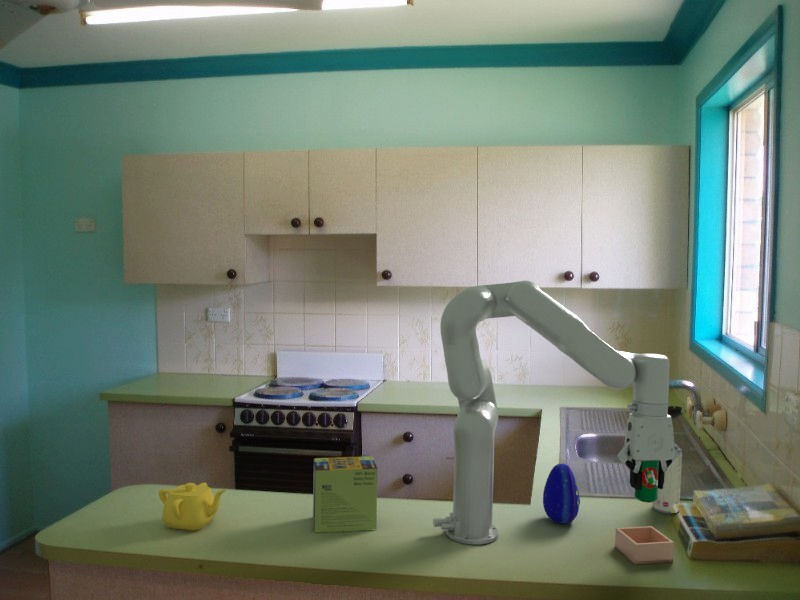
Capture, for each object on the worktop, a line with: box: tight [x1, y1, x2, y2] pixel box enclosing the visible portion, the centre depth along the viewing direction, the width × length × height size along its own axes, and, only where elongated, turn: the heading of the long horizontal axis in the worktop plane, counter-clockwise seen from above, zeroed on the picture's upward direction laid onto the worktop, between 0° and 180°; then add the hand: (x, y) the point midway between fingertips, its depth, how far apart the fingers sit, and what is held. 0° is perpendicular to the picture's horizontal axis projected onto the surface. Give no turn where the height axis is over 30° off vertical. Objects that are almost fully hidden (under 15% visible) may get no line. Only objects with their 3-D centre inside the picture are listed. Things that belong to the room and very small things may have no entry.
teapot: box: [158, 482, 227, 532], centre depth 168 cm, size 14×13×10 cm
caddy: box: [614, 525, 675, 565], centre depth 156 cm, size 9×9×4 cm
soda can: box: [633, 460, 659, 504], centre depth 155 cm, size 5×5×12 cm
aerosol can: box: [651, 441, 683, 515], centre depth 184 cm, size 7×7×20 cm
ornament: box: [542, 463, 581, 524], centre depth 175 cm, size 11×9×15 cm
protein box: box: [312, 456, 378, 534], centre depth 170 cm, size 10×15×16 cm
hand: (646, 486), depth 155 cm, fingers closed on soda can, 4 cm apart
